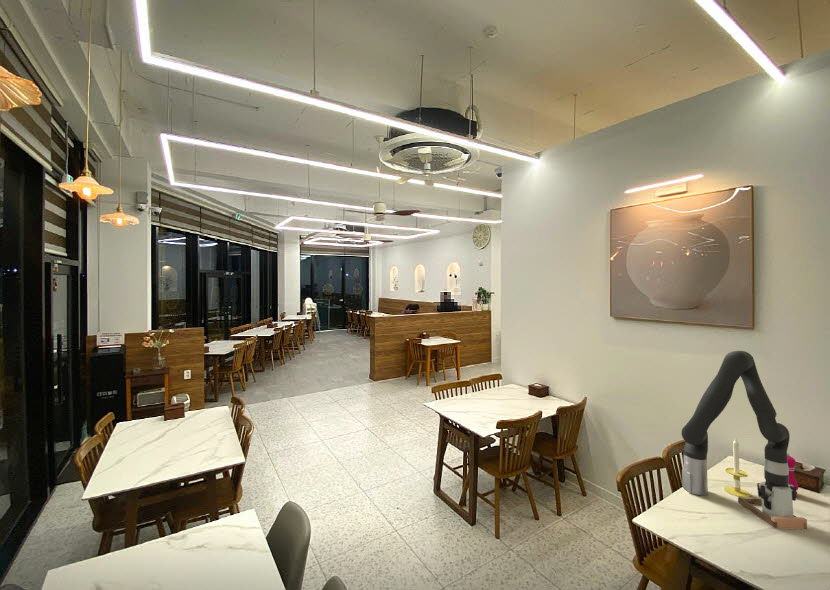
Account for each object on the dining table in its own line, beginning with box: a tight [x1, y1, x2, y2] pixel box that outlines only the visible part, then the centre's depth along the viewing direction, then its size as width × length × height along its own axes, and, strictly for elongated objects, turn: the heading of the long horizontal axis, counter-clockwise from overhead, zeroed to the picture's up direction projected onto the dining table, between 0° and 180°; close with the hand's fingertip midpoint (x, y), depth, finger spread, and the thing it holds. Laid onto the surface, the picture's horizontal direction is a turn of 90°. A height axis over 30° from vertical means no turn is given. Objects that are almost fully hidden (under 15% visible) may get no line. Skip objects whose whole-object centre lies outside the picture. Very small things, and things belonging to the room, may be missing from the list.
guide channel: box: [737, 496, 808, 530], centre depth 160 cm, size 12×19×2 cm, turn 175°
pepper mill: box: [787, 452, 799, 498], centre depth 176 cm, size 7×7×20 cm
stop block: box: [771, 516, 808, 530], centre depth 151 cm, size 12×2×4 cm, turn 85°
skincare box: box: [760, 480, 794, 517], centre depth 156 cm, size 8×6×15 cm
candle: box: [723, 437, 752, 498], centre depth 179 cm, size 10×10×27 cm
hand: (777, 508), depth 156 cm, fingers closed on skincare box, 6 cm apart
